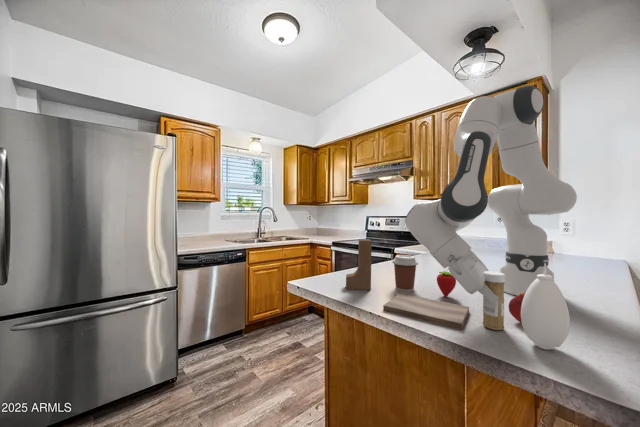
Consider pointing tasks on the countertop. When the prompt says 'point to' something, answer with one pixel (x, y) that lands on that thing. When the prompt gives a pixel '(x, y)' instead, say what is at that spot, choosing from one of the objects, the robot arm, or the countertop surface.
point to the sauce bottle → (545, 313)
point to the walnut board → (428, 310)
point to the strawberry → (446, 282)
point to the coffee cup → (404, 272)
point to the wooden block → (361, 268)
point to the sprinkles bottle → (494, 311)
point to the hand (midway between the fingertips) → (496, 297)
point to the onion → (516, 306)
